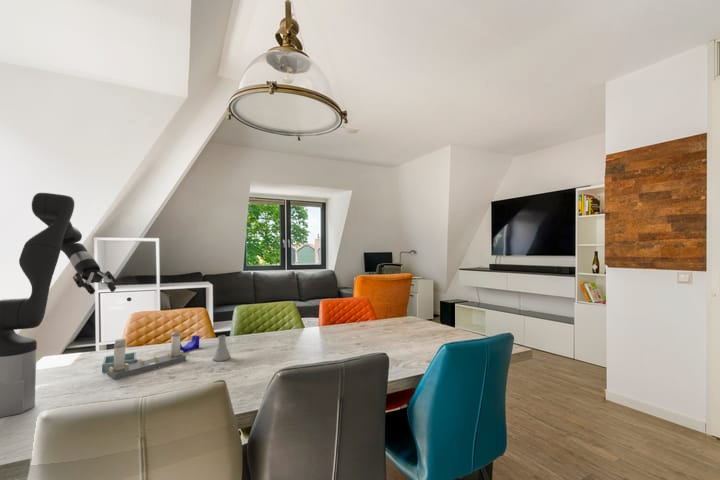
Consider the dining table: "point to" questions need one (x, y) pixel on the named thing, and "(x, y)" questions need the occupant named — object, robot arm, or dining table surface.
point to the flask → (221, 350)
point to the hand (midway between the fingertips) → (103, 291)
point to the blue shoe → (191, 344)
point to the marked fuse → (120, 340)
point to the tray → (109, 361)
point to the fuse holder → (146, 365)
